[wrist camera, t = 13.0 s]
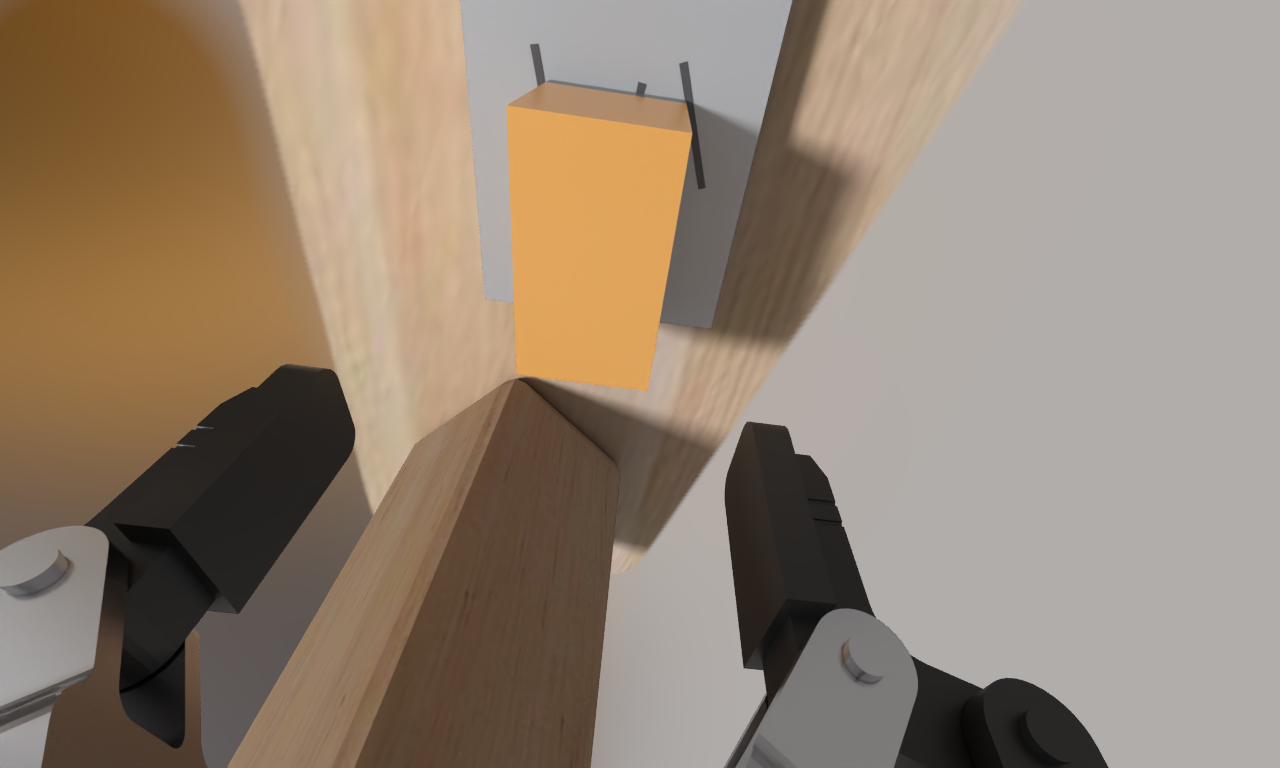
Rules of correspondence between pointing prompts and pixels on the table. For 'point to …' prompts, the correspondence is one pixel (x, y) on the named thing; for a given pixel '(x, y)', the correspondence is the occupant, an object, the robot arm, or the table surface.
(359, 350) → the table surface
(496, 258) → the board
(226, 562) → the robot arm
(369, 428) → the table surface
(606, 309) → the block
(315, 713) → the block
